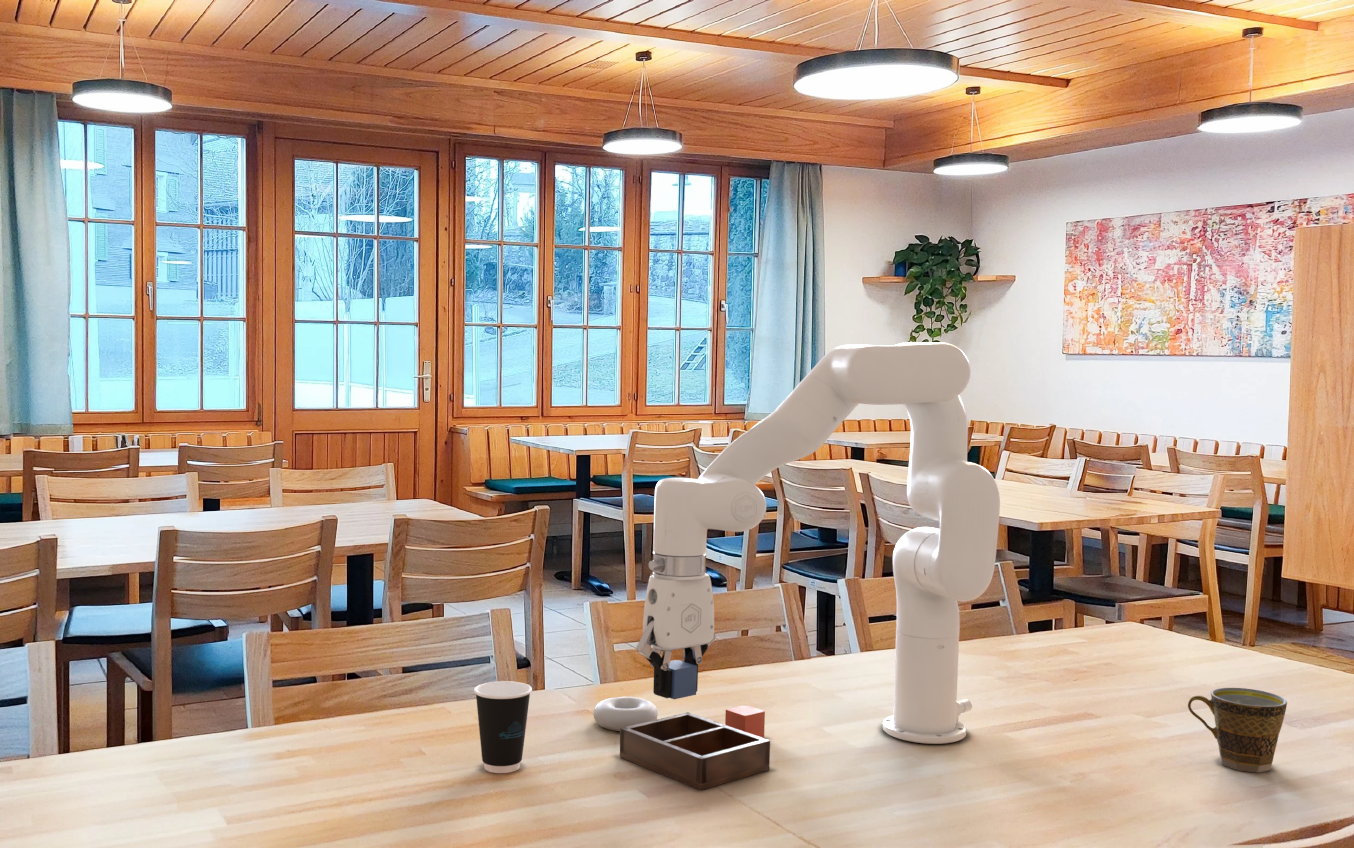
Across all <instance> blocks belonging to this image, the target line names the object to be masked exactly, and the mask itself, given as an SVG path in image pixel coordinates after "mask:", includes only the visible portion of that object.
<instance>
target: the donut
mask: <svg viewBox="0 0 1354 848" xmlns="http://www.w3.org/2000/svg"><path fill="white" fill-rule="evenodd" d="M592 715H593V719H594V721H595V723H597V725H598V726H600V727H602V728H603V729H606V730H609V731H616V732H620V728H623V727H627V726H631V725H636V724H640V723H644V722H648V721H653V720H657V719H658V715H659V712H658V708H657V706H656V705H655V704H654V702H651V701H649V700H647V699H646V698H642V697H636V696H615V697H609V698H606V699H603V700H601V701H600V702H598V703H597V704H596V706H595V707H594V709H593V713H592Z"/></svg>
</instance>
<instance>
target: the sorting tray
mask: <svg viewBox="0 0 1354 848" xmlns="http://www.w3.org/2000/svg"><path fill="white" fill-rule="evenodd" d="M619 758H621V759H623V760H626V761H629V762H631V763H633V764H635V765H638V766H641V767H643V768H646V769H648V770H650V771H652V772H655V773H658V774H660V775H662V776H664V777H666V778H667V777H668V778H670V779H673V780H675V781H677V782H680V783H682V784H685V785H687V786H689V787H691V788H695V789H696V790H700V791H703V790H705V789H706V790H707V789H710V788H712V787H716V786H719V785H723V784H726V783H727V784H728V783H730V782H733V781H737V780H741V779H744V778H747V777H750V776H753V775H754V776H755V775H757V774H760V773H763V772H767V771H770V760H771V740H770V739H767V738H765V737H764V738H762V737H759V736H756V735H753V734H750V733H747V732H744V731H741V730H738V729H735V728H732V727H730V726H727V725H725V723H721V722H718V721H715V720H712V719H709V718H706V717H704V716H700V715H697V714H695V713H692V712H689V711H687V712H682V713H679V714H674V715H671V716H666V717H661V718H657V720H653V721H648V722H644V723H640V724H636V725H631V726H627V727H623V728H620V731H619Z"/></svg>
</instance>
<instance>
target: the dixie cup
mask: <svg viewBox="0 0 1354 848" xmlns="http://www.w3.org/2000/svg"><path fill="white" fill-rule="evenodd" d="M532 692H533V688H532V686H531V685H530V684H527V683H525V682H519V681H513V680H511V681H510V680H500V681H499V680H498V681H497V680H496V681H489V682H484V683H481V684H478V685H476V686H475V687H474V688H473V693H474V695H475V698H476V700H475V701H476V709H477V718H478V731H479V739H480V751H481V760H482V763H483V767H484V770H485V771H487V772H489V773H494V774H509V773H514V772H516V771H518V770H519V769H520V766H521V762H522V760H523V754H524V745H525V738H526V737H525V736H526V729H527V721H528V713H529V705H530V697H531V694H532Z"/></svg>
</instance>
